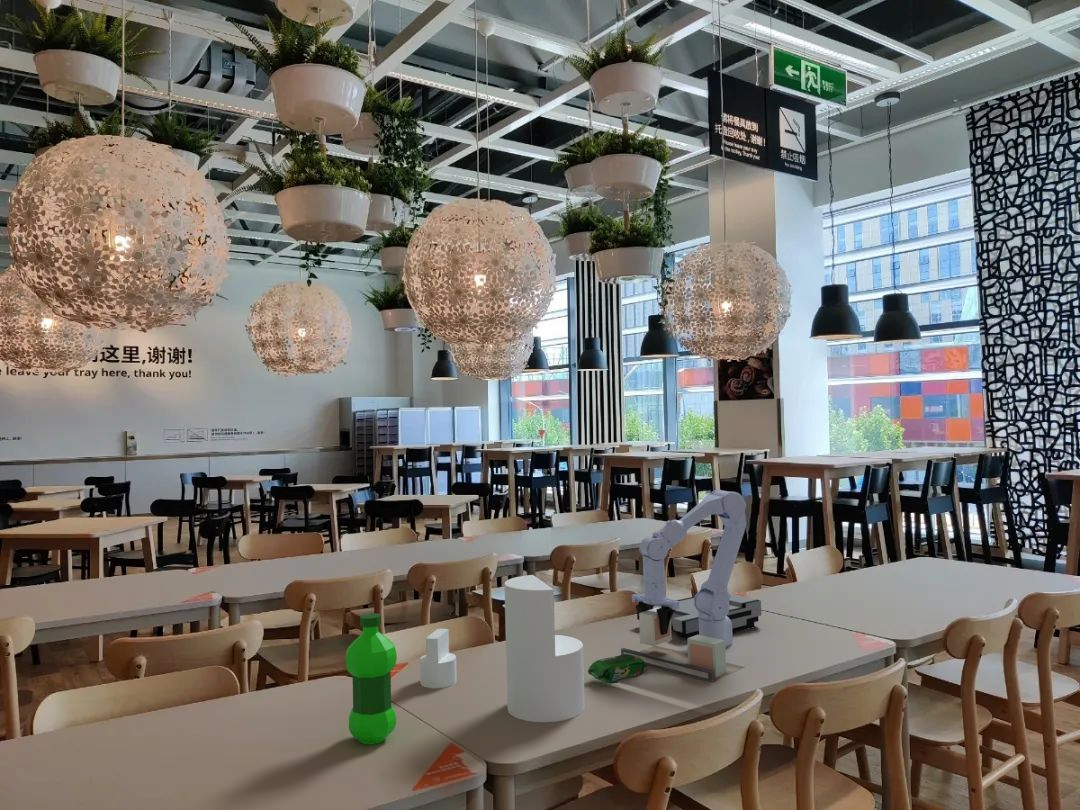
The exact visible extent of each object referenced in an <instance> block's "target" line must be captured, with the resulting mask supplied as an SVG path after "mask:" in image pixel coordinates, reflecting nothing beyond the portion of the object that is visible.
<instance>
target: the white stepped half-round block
mask: <svg viewBox="0 0 1080 810" xmlns="http://www.w3.org/2000/svg"><path fill="white" fill-rule="evenodd" d="M449 630H450V629H449V628H436V629H435V631H433V632H432V633H431V634H429V635H427V636H426V638H425V648H426V649H425V654H424V655H422V656H420V658H419V679H420V681H419V682H420V683H419V684H421V685H422V686H421V685H420V686H421V687H423V686H424V688H426V687H427V688H426V689H444V688H448V687H452V686H454V685H455V684H457V677H458V676H457V656H456V655H455V654H454V653H451V652H450V632H449Z"/></svg>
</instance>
